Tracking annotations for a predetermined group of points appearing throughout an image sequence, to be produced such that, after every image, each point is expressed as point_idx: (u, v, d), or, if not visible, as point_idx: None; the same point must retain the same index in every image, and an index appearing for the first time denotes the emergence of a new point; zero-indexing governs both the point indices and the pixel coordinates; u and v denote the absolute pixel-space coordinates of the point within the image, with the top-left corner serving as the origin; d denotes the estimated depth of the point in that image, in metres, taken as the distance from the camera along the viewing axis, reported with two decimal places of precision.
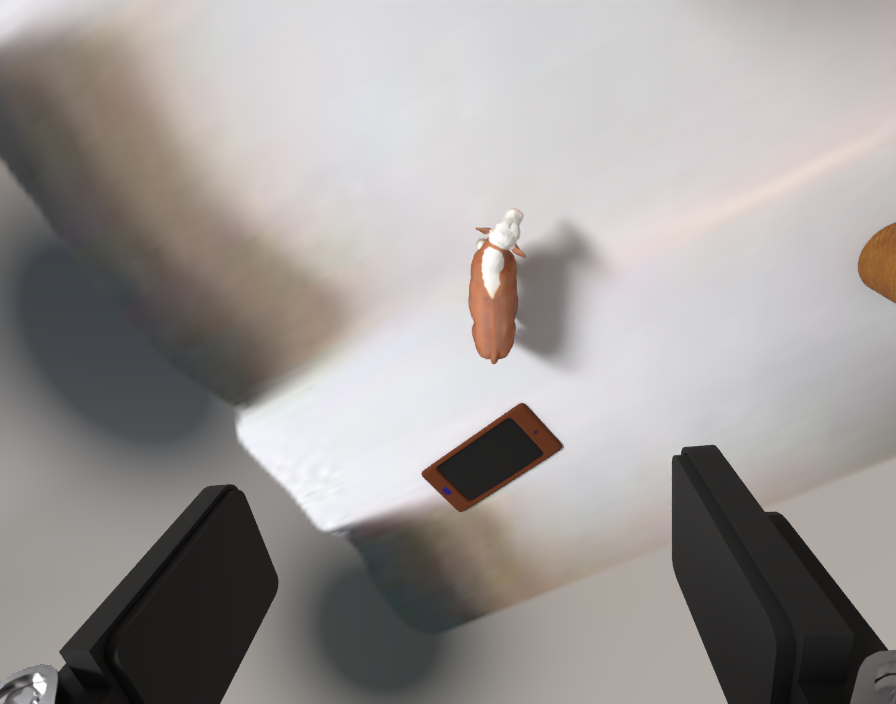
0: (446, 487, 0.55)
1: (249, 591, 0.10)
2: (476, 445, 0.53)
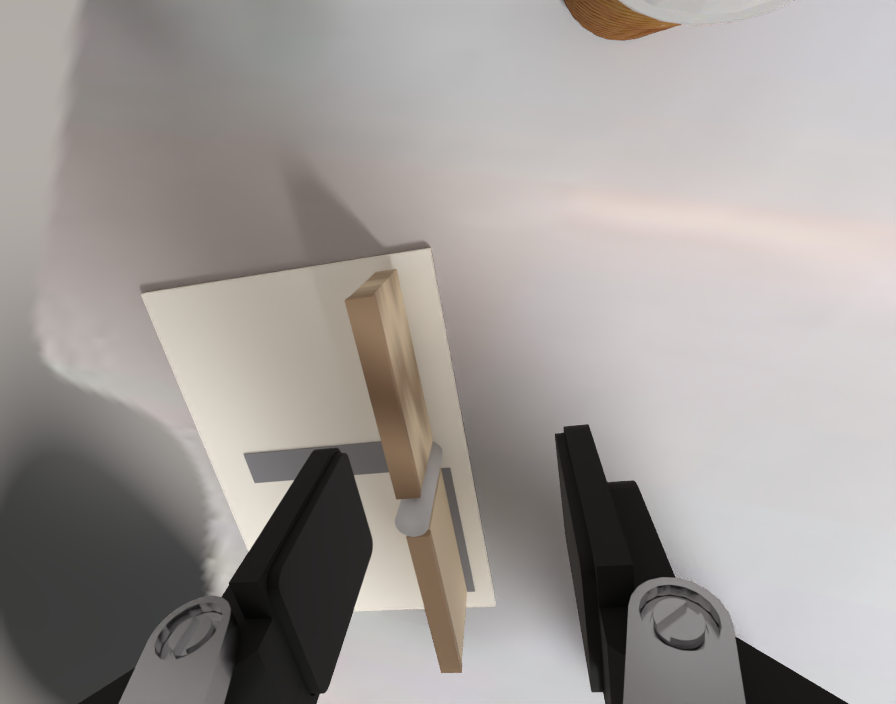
0: None
1: (355, 547, 0.11)
2: None
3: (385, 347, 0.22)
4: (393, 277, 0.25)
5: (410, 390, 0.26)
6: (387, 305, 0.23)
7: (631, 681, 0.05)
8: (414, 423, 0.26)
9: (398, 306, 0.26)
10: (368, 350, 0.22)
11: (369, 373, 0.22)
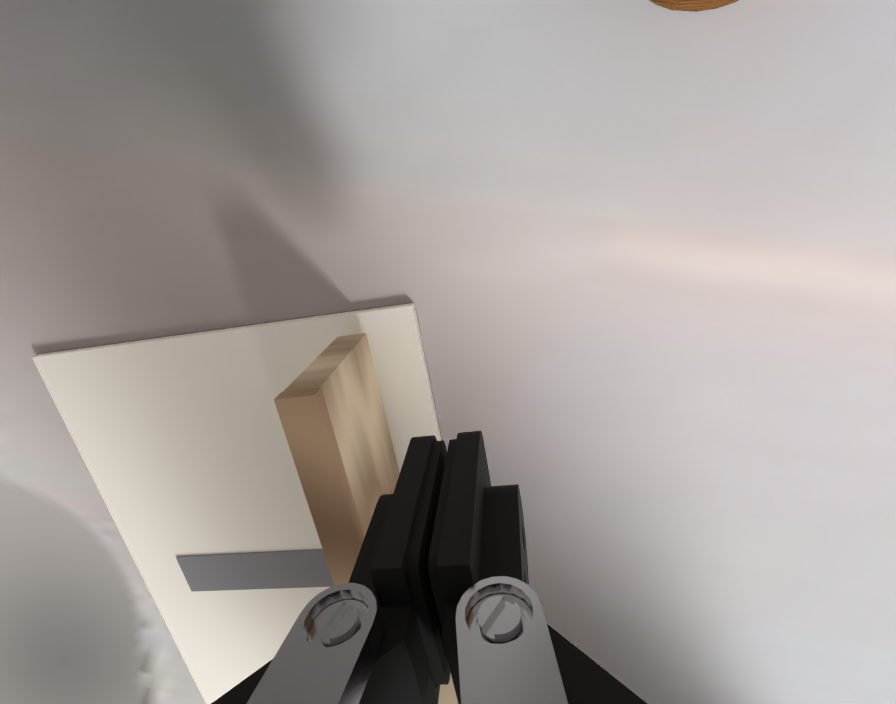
0: None
1: None
2: None
3: (338, 465, 0.15)
4: (359, 347, 0.18)
5: None
6: (346, 395, 0.16)
7: (466, 691, 0.06)
8: None
9: (367, 387, 0.18)
10: (312, 469, 0.15)
11: (315, 500, 0.15)
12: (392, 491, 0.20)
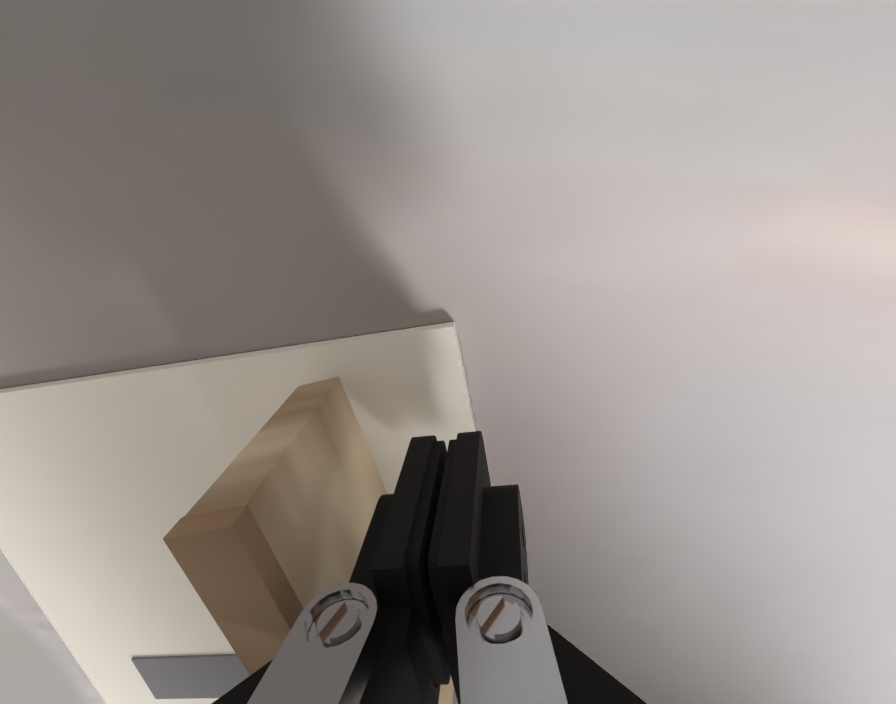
0: None
1: None
2: None
3: None
4: (329, 402, 0.12)
5: None
6: (307, 491, 0.10)
7: (466, 691, 0.06)
8: None
9: (348, 460, 0.12)
10: (255, 641, 0.08)
11: None
12: None
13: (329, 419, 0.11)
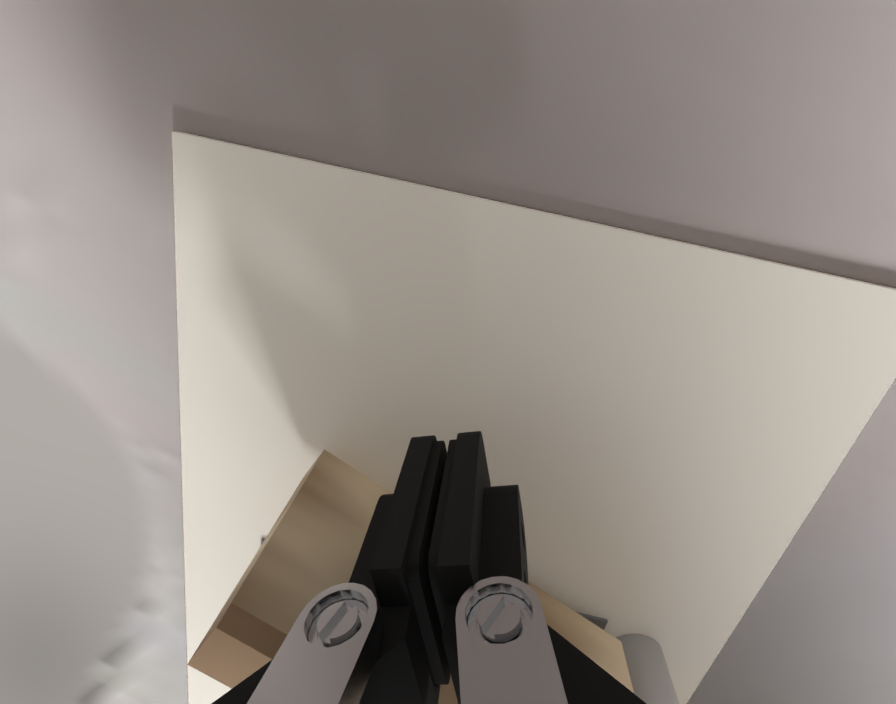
0: None
1: None
2: None
3: None
4: (318, 476, 0.12)
5: None
6: (313, 562, 0.10)
7: (466, 691, 0.06)
8: None
9: (364, 514, 0.12)
10: None
11: None
12: None
13: (323, 490, 0.12)
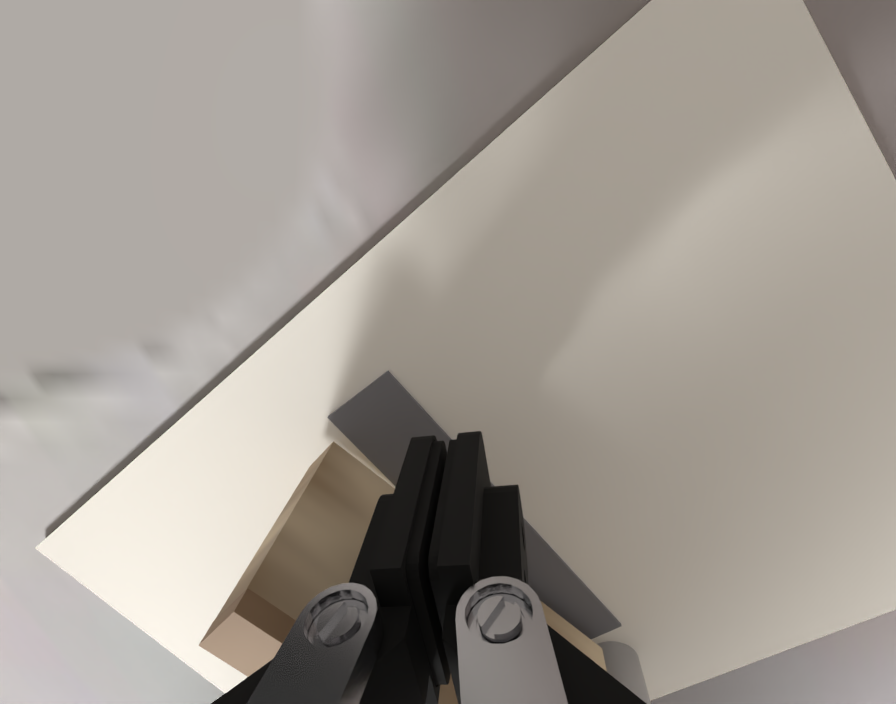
0: None
1: None
2: None
3: None
4: (327, 468, 0.13)
5: None
6: (323, 553, 0.11)
7: (466, 691, 0.06)
8: None
9: (370, 509, 0.13)
10: None
11: None
12: None
13: (332, 482, 0.12)
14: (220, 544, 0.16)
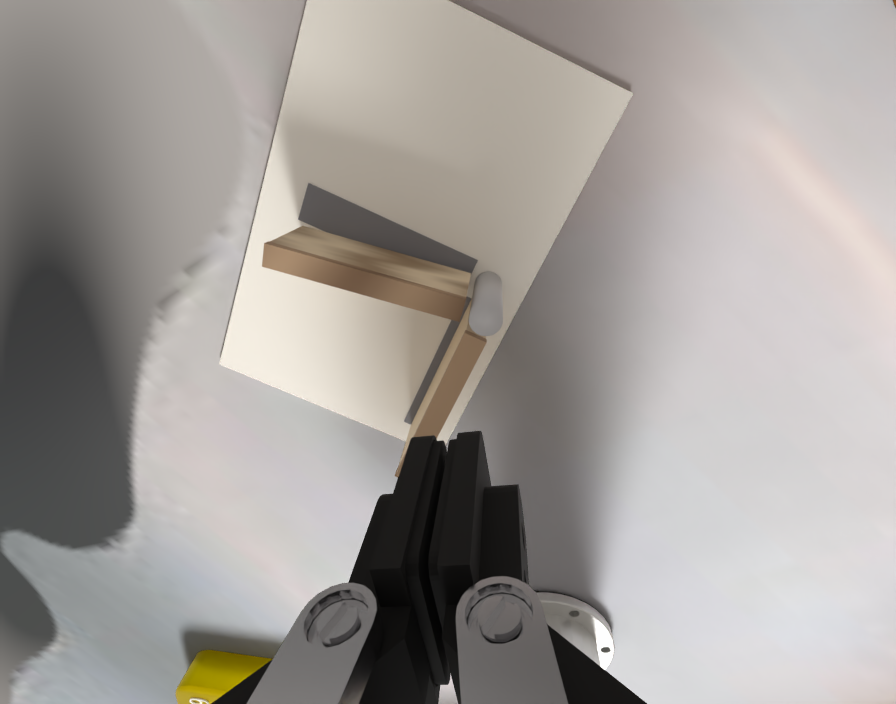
0: None
1: None
2: None
3: (311, 255, 0.25)
4: (300, 229, 0.29)
5: (388, 262, 0.28)
6: (299, 241, 0.27)
7: (466, 691, 0.06)
8: (414, 273, 0.27)
9: (322, 237, 0.29)
10: (308, 270, 0.25)
11: (328, 280, 0.26)
12: (398, 259, 0.29)
13: (303, 232, 0.29)
14: (290, 315, 0.33)
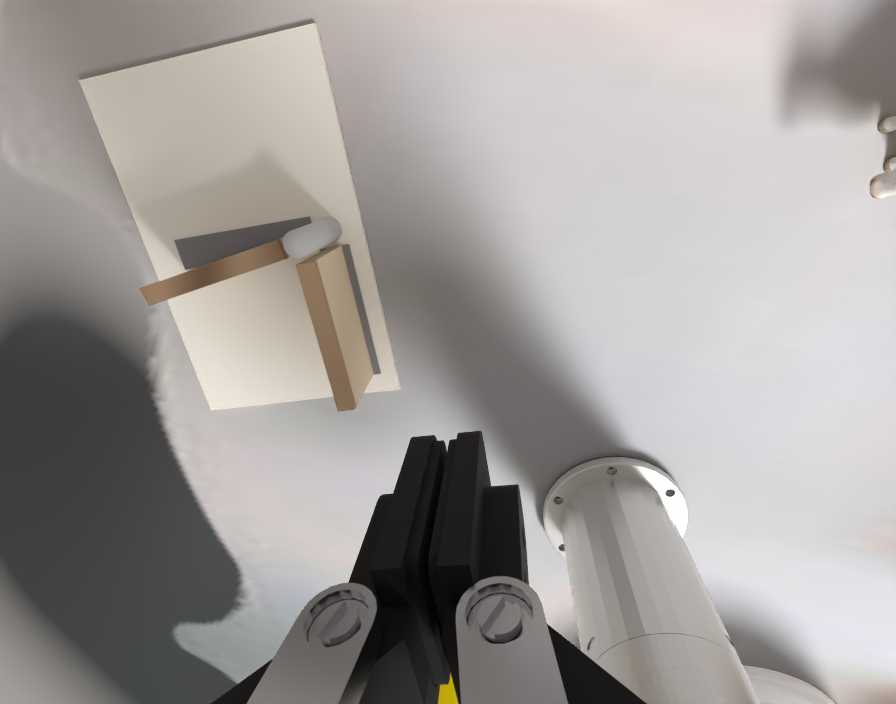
0: None
1: None
2: None
3: None
4: None
5: None
6: None
7: (466, 691, 0.06)
8: None
9: None
10: (174, 288, 0.33)
11: (190, 287, 0.33)
12: None
13: None
14: (227, 343, 0.41)
